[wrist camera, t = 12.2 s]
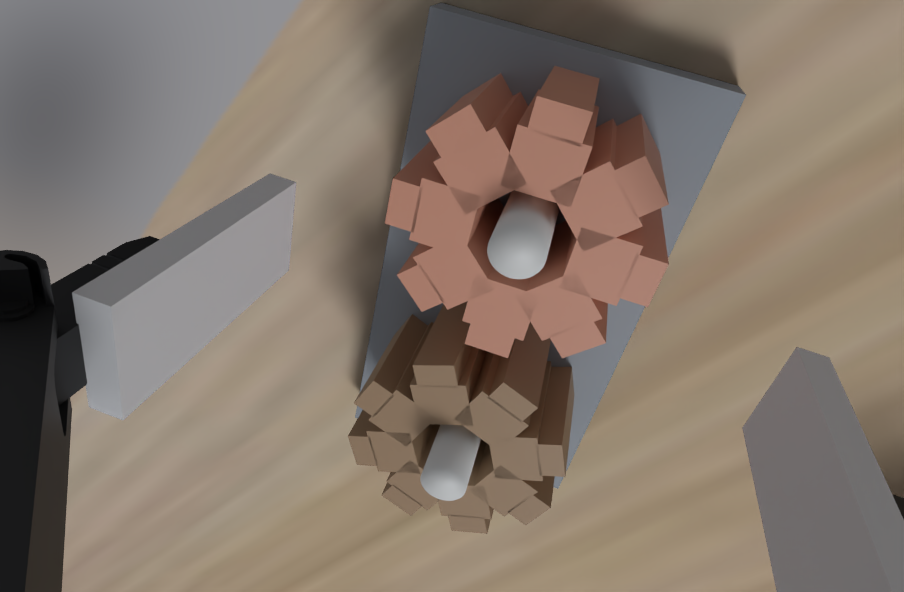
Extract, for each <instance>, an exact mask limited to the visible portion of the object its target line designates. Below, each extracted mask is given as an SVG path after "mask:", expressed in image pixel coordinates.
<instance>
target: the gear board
mask: <svg viewBox="0 0 904 592" xmlns="http://www.w3.org/2000/svg"><path fill="white" fill-rule="evenodd" d="M554 66H558V67H561V68H565V69H568V70H572V71H575V72H579V73H582V74H586V75H589V76H593V77H597V78H600V79H599V84H598V90H597V95H596V100H595V106H598V107H599V110H598V116H597V123H596V127H598V126H600V125H601V124H603V123H605V122H607V121H609V120H611V119H614V121H615V123H616V125H617V126H618V125H620V124H622V123H624V122H626V121H628V120H629V119H631V118H633V117H635V116H637V115H639V114H642V116H643V118H644V120H645V122H646V124H647V127H648V129H649V131H650V133H651V135H652V137H653V139H654V141H655V144H656V146H657V148H658V150H659V152H660V155H661V161H662V167H663V173H664V179H665V185H666V190H667V196H668V202H669V205H667V206H664V207H662V208H661V211H662V218H663V226H664V233H665V240H666V247H667V255H668V257H669V255H670V253H671V251H672V249H673V247H674V245H675V243H676V241H677V239H678V236H679V234H680V232H681V230H682V228H683V226H684V224H685V222H686V220H687V218H688V216H689V213H690V211H691V209H692V207H693V205H694V203H695V201H696V199H697V197H698V195H699V192H700V190H701V188H702V186H703V184H704V182H705V180H706V178H707V176H708V174H709V172H710V169H711V167H712V165H713V163H714V161H715V159H716V157H717V155H718V153H719V151H720V149H721V146H722V144H723V142H724V140H725V138H726V136H727V134H728V132H729V130H730V128H731V125H732V123H733V121H734V119H735V117H736V115H737V113H738V111H739V109H740V107H741V105H742V102H743V100H744V98H745V96H746V94H745V93H744V92H743V91H742V89H741V88H740V87H739V86H737V85H733V84H730V83H726V82H723V81H719V80H716V79H712V78H708V77H705V76H701V75H698V74H694V73H691V72H687V71H683V70H680V69H676V68H673V67H669V66H666V65H662V64H658V63H655V62H651V61H648V60H644V59H641V58H637V57H633V56H630V55H626V54H623V53H619V52H616V51H612V50H608V49H605V48H601V47H598V46H594V45H591V44H587V43H583V42H580V41H576V40H573V39H569V38H566V37H562V36H558V35H555V34H551V33H548V32H544V31H541V30H537V29H533V28H530V27H526V26H523V25H519V24H516V23H512V22H508V21H505V20H501V19H498V18H494V17H491V16H487V15H483V14H480V13H476V12H473V11H469V10H466V9H462V8H458V7H455V6H451V5H448V4H444V3H438V4H435V5H432V6H430V9H429V15H428V20H427V26H426V31H425V36H424V42H423V47H422V53H421V58H420V64H419V69H418V75H417V80H416V86H415V91H414V97H413V102H412V108H411V113H410V119H409V124H408V130H407V135H406V141H405V146H404V152H403V157H402V163H401V168H400V171H401V170H402V169H403V168H404V167H405V166H406V165H407V164H408V163H409V162H410V161H411V160H412V159H413V158H414V157H415V156H416V155H417V154H418V153H419V152H420V151H421V150H422V149H423V148H424V147H425V146H426V145H427V144H428V143H429V142H430V141H431V140H430V138H429V136H428V135H427V133H426V130H427V129H428V128H429V127H430V126H431V125H432V124H434V123H435V122H436V121H437V120H438V119H439V118H440V117H441V116H442V115H443V114H444V113H445V112H446V111H447V110H449V109H450V108H451V107H452V106H453V105H454V104H455V103H456V102H457V101H458V100H459V99H460V98H461V97H463V96H464V95H465V94H467V93H469V92H470V91H472V90H474V89H475V88H477V87H479V86H480V85H482V84H483V83H485V82H487V81H488V80H490V79H492V78H493V77H495V76H497V75H498V74H500V73H501V74H502V76H503V78H504V80H505V82H506V83H507V85H508V87H509V89H510V91H511V93H512V95H513V96H514V95H515V94H517V93H519V92H521V93H522V95H523V97H524V99H525V101H526V103H527V105H528V106H529V104H530V103H531V101H532V99H533V98H534V96H535V94H536V93H537V91H538V89H539V90H541V88H542V86H543V85H544V83H545V81H546V79H547V78H548V76H549V74H550V73H551V71H552V69H553V67H554ZM499 200H500V201H501V203H502V205H503V206H504V209H503V212H502V214H501V216H500V218H499V220H498V222H497V225H496V227H495V229H494V231H493V233H492V236H491V238H490V240H489V243H488V247H487V254H488V258H489V261H490V263H491V264H492V266H493V267H494V268H495V269H496V270H497V271H498V272H499V273H500V274H502V275H504V276H506V277H508V278H512V279H526V278H530V277H532V276H534V275H536V274H537V273H538V272H540V271H541V269H542V268H543V267H544V265H545V263H546V260H547V256H548V252H549V248H550V244H551V240H552V236H553V232H554V228H555V225H557V224H559V223H562V222H564V221H566V219H565V217H564V216H563V214H562V212H561V210H560V208H559V206H558V205H557V203H555V202H551V201H548V200H545V199H542V198H538V197H535V196H532V195H528V194H525V193H522V192H519V191H515V190H513V191H511V192H509V193H507V194H505V195H503V196H501V197H499ZM410 233H411V232H410V231H407V230H404V229H401V228H397V227H394V226H391V225H390V229H389V234H388V240H387V245H386V251H385V256H384V262H383V267H382V273H381V278H380V284H379V289H378V295H377V300H376V306H375V311H374V317H373V322H372V328H371V333H370V339H369V344H368V350H367V355H366V361H365V366H364V372H363V377H362V383H361V388H360V394H359V395H358V397H357V399H356V400H355V402H354V404H356V405H357V410H356V415H355V418H358V419H357V421H356V423H355V424H354V426H353V428H352V430H351V432H350V433H349V435H348V438H349V441H350V444H351V447H352V450H353V453H354V457H355V460H356V463H357V465H370V466H377V469H378V471H384V472H391V473H390V475H389V477H388V479H387V484H386V486H385V489H384V491H383V493H382V496H383V497H385V498H386V499H388V500H389V501H390V502H392V503H393V504H395V505H396V506H398V507H399V508H401V509H402V510H403V511H405V512H406V513H408V514H409V515H412V514H413V513H415V512H416V511H417V510H418V509H419V508H421V507H423V508H425V509H426V510H428V509H430V508H431V507H432V506H433V505H434V504H436V503H437V502H438V503H439V507H440V511H441V515H443V516H448V518H449V522H450V526H451V530H452V531H463V532H474V533H486V534H487V532H488V528H489V524H490V519H491V518H492V514H493V509H495V510H496V511H497V512H499V513H500V514H502V515H503V516H506V515H507V514H508V513H509V514H511V515H512V516H513V517H515V518H516V519H518V520H519V521H520V522H522V523H523V524H525V525H527V524H528V523H530V522H531V521H532V520H534V519H535V518H537V517H538V516H540V515H541V514H542V513H544V512H545V511H547V510H548V509H550V508H551V501H552V493H553V487H555V488H557V489H558V488H559V486H560V484H561V481H562V479H563V477H565V476H566V471H567V469H568V467H569V465H570V463H571V460H572V458H573V456H574V454H575V452H576V450H577V448H578V446H579V444H580V442H581V440H582V437H583V435H584V433H585V431H586V429H587V427H588V425H589V423H590V421H591V419H592V417H593V414H594V412H595V410H596V408H597V406H598V404H599V402H600V400H601V398H602V396H603V393H604V391H605V389H606V387H607V385H608V383H609V381H610V379H611V377H612V375H613V373H614V370H615V368H616V366H617V364H618V362H619V360H620V358H621V356H622V354H623V352H624V350H625V347H626V345H627V343H628V341H629V339H630V337H631V335H632V333H633V331H634V329H635V326H636V324H637V322H638V320H639V318H640V316H641V314H642V312H643V310H644V308H645V306H643V305H639V304H636V303H633V302H630V301H627V300H624V299H621V298H620V300H619V302H618V304H617V306H615V305H612V304H609V303H608V313H607V334H606V343H605V344H602V345H599V346H596V347H594V348H591V349H588V350H585V351H582V352H579V353H576V354H573V355H571V356H568V357H565V358H562V357H561V355H560V354H559V352H558V350H557V349H556V347H555V345H554V344H553V342H552V341H551V339H550V338H548V339H546V340H543V341H542V340H541V338H540V337H539V335H538V333H537V332H536V330H535V328H534V327H533V325H532V324H531V322H530V323H529V326H528V329H527V332H526V334H525V337H524V340H523V341H522V340H519V339H516V338H515V339H514V342H513V345H512V348H511V351H510V353H509V356H508V358H506V357H503V356H500V355H497V354H494V353H491V352H488V351H485V350H482V349H479V348H476V347H473V346H470V345H467V344H465V340H466V337H467V334H468V330H469V327H470V323H467V322H464V321H462V320H463V316H464V313H465V309H466V306H467V302H468V301H467V302H464V303H462V304H460V305H457V306H455V307H453V308H450V309H448V310H447V308H446V307H445V305H444V304H443V303H441V304H439V305H437V306H434V307H432V308H430V309H427V310H425V311H423V312H421V310H420V309H419V307H418V306H417V304H416V303H415V301H414V300H413V298H412V297H411V295H410V294H409V292H408V291H407V289H406V288H405V286H404V285H403V283H402V282H401V280H400V279H399V278H398V276H397V274H398V272H399V271H400V270H401V268H402V267H403V265H404V264H405V262H406V261H407V259H408V258H409V257H410V255H411V254H412V252H413V251H414V249H415V248H416V246H417V245H418V244H419V243H418V242H415V241H411V240H409V238H410Z"/></svg>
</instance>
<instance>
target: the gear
mask: <svg viewBox="0 0 904 592" xmlns="http://www.w3.org/2000/svg"><path fill="white" fill-rule="evenodd" d="M599 79H600V78H597V77H593V76H589V75H586V74H582V73H579V72H575V71H572V70H568V69H565V68H561V67H558V66H554V67H553V69H552V71H551V73H550V74H549V76H548V78H547V79H546V81H545V83H544V85H543V86H542V88H541V90H539V89H538V91H537V93H536V94H535V96H534V98H533V99H532V101H531V103H530V104H529V106H528V105H527V103H526V101H525V99H524V97H523V95H522V93H521V92H519V93H517V94H515V95H514V96H513V95H512V93H511V91H510V89H509V87H508V85H507V83H506V82H505V80H504V78H503V76H502V74H501V73H500V74H498V75H497V76H495V77H493V78H492V79H490V80H488V81H487V82H485V83H483V84H482V85H480V86H479V87H477V88H475V89H474V90H472V91H470V92H469V93H467V94H465V95H464V96H463V97H461V98H460V99H459V100H458V101H457V102H456V103H455V104H454V105H453V106H452V107H451V108H450V109H449V110H447V111H446V112H445V113H444V114H443V115H442V116H441V117H440V118H439V119H438V120H437V121H436V122H435V123H434V124H432V125H431V126H430V127H429V128H428V129H427V130H426V133H427V135H428V136H429V138H430V140H431V141H430V142H429V143H428V144H427V145H426V146H425V147H424V148H423V149H422V150H421V151H420V152H419V153H418V154H417V155H416V156H415V157H414V158H413V159H412V160H411V161H410V162H409V163H408V164H407V165H406V166H405V167H404V168H403V169H402V170H401V171H400V172H399V173H398V174H397V175H396V176H395V177H394V178H393V180H392V186H391V192H390V197H389V203H388V209H387V214H386V220H385V224H388V225H391V226H394V227H397V228H401V229H404V230H407V231H410V232H411V233H410V238H409V240H411V241H415V242H418V243H419V244H418V245H417V246H416V248H415V249H414V251H413V252H412V254H411V255H410V257H409V258H408V259H407V261H406V262H405V264H404V265H403V267H402V268H401V270H400V271H399V272H398V274H397V276H398V278H399V279H400V280H401V282H402V283H403V285H404V286H405V288H406V289H407V291H408V292H409V294H410V295H411V297H412V298H413V300H414V301H415V303H416V304H417V306H418V307H419V309H420V310H421V312H423V311H425V310H427V309H430V308H432V307H434V306H437V305H439V304H441V303H443V304H444V305H445V307H446V308H447V310H448V309H450V308H453V307H455V306H457V305H460V304H462V303H464V302H467V301H468V302H467V306H466V309H465V313H464V316H463V320H462V321H464V322H467V323H470V327H469V330H468V334H467V337H466V340H465V344H467V345H470V346H473V347H476V348H479V349H482V350H485V351H488V352H491V353H494V354H497V355H500V356H503V357H506V358H508V356H509V353H510V351H511V348H512V345H513V342H514V339H515V338H516V339H519V340H522V341H523V340H524V337H525V334H526V332H527V329H528V326H529V323H530V322H531V324H532V325H533V327H534V328H535V330H536V332H537V333H538V335H539V337H540V338H541V340H542V341H543V340H546V339H548V338H550V339H551V341H552V342H553V344H554V345H555V347H556V349H557V350H558V352H559V354H560V355H561V357H562V358H565V357H568V356H571V355H573V354H576V353H579V352H582V351H585V350H588V349H591V348H594V347H596V346H599V345H602V344H605V343H606V334H607V313H608V303H609V304H612V305H615V306H617V304H618V302H619V300H620V298H621V299H624V300H627V301H630V302H633V303H636V304H639V305H643V306H646V307H648V306H649V304H650V302H651V300H652V298H653V296H654V294H655V292H656V290H657V288H658V285H659V283H660V281H661V279H662V277H663V275H664V273H665V271H666V269H667V267H668V265H669V262H668V255H667V247H666V240H665V233H664V226H663V218H662V211H661V208H662V207H664V206H667V205H669V202H668V196H667V190H666V185H665V179H664V173H663V167H662V161H661V155H660V152H659V150H658V148H657V146H656V144H655V141H654V139H653V137H652V135H651V133H650V131H649V129H648V127H647V124H646V122H645V120H644V118H643V116H642V114H639V115H637V116H635V117H633V118H631V119H629V120H628V121H626V122H624V123H622V124H620V125H618V126H617V125H616V123H615V121H614V119H611V120H609V121H607V122H605V123H603V124H601V125H600V126H598V127H596V123H597V116H598V110H599V107H598V106H595V100H596V95H597V90H598V84H599ZM513 190H515V191H519V192H522V193H525V194H528V195H532V196H535V197H538V198H542V199H545V200H548V201H551V202H555V203H557V205H558V206H559V208H560V210H561V212H562V214H563V216H564V217H565V219H566V221H564V222H562V223H559V224H557V225H555V228H554V232H553V236H552V240H551V244H550V248H549V252H548V256H547V260H546V263H545V265H544V267H543V268H542V269H541V271H540V272H538V273H537V274H536V275H534V276H532V277H530V278H526V279H512V278H508V277H506V276H504V275H502V274H500V273H499V272H498V271H497V270H496V269H495V268H494V267H493V266H492V264H491V263H490V261H489V258H488V254H487V247H488V243H489V240H490V238H491V236H492V233H493V231H494V229H495V227H496V225H497V222H498V220H499V218H500V216H501V214H502V212H503V209H504V206H503V205H502V203H501V201H500V200H499V197H501V196H503V195H505V194H507V193H509V192H511V191H513Z"/></svg>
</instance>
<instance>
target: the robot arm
mask: <svg viewBox="0 0 904 592" xmlns="http://www.w3.org/2000/svg"><path fill="white" fill-rule="evenodd" d="M295 192H296V182H294V181H291V180H288V179H285V178H282V177H279V176H276V175H273V174H268V175H267V176H265V177H263V178H262V179H260V180H258V181H257V182H255V183H253V184H252V185H250V186H248V187H247V188H245V189H243V190H242V191H240V192H238V193H237V194H235V195H233V196H232V197H230V198H228V199H227V200H225V201H223V202H222V203H220V204H218V205H217V206H215V207H213V208H212V209H210V210H208V211H207V212H205V213H203V214H202V215H200V216H198V217H197V218H195V219H193V220H192V221H190V222H188V223H187V224H185V225H183V226H182V227H180V228H178V229H177V230H175V231H173V232H172V233H170V234H168V235H167V236H165V237H163V238H162V239H160V240H159V239H157V238H154V237H151V236H149V237H145V238H141V239H137V240H133V241H130V242H126V243H124V244H122V245H120V246H119V247H117V248H115V249H113V250H112V251H110V252H108V253H107V255H106V256H105V255H103V256H101V257H99V258H98V259H96V260H94V261H92V264H87V265H85V266H83V267H82V268H80V269H78V270H76V271H75V272H73V273H71V274H69V275H68V276H66V277H64V278H63V279H61V280H59V281H57V282H55V283H53V284H52V285H51V283H50V277H49V272H48V267H47V264H46V261H45V260H44V259H42V258H40V257H39V256H38V255H35V254H31V253H28V252H24V251H12V250H3V251H0V592H61V591H62V574H63V556H64V539H65V521H66V504H67V486H68V469H69V451H70V433H71V416H72V407H71V401H70V397H71V396H72V395H74V394H75V393H76V392H77V391H79V390H80V389H81V388H83V387H84V386H85V385H86V391H87V397H88V404H89V407H90V408H93V409H95V410H98V411H100V412H103V413H105V414H108V415H111V416H113V417H116V418H118V419H121V420H124V419H125V418H126V417H127V416H129V415H130V414H131V413H132V412H133V411H134V410H135V409H136V408H137V407H138V406H140V405H141V404H142V403H143V402H144V401H145V400H146V399H147V398H148V397H149V396H151V395H152V394H153V393H154V392H155V391H156V390H157V389H158V388H159V387H161V386H162V385H163V384H164V383H165V382H166V381H167V380H168V379H169V378H170V377H172V376H173V375H174V374H175V373H176V372H177V371H178V370H179V369H180V368H181V367H183V366H184V365H185V364H186V363H187V362H188V361H189V360H190V359H191V358H193V357H194V356H195V355H196V354H197V353H198V352H199V351H200V350H201V349H202V348H204V347H205V346H206V345H207V344H208V343H209V342H210V341H211V340H212V339H213V338H215V337H216V336H217V335H218V334H219V333H220V332H221V331H222V330H223V329H225V328H226V327H227V326H228V325H229V324H230V323H231V322H232V321H233V320H234V319H236V318H237V317H238V316H239V315H240V314H241V313H242V312H243V311H244V310H245V309H247V308H248V307H249V306H250V305H251V304H252V303H253V302H254V301H255V300H257V299H258V298H259V297H260V296H261V295H262V294H263V293H264V292H265V291H266V290H268V289H269V288H270V287H271V286H272V285H273V284H274V283H275V282H276V281H277V280H279V279H280V278H281V277H282V276H283V275H284V274H285V273H286V272H287V271H289V263H290V251H291V239H292V227H293V215H294V204H295ZM743 433H744V437H745V442H746V447H747V452H748V456H749V461H750V466H751V471H752V475H753V480H754V485H755V490H756V495H757V499H758V504H759V509H760V514H761V518H762V523H763V528H764V533H765V537H766V542H767V547H768V552H769V556H770V561H771V566H772V571H773V575H774V580H775V585H776V590H777V592H904V498H901V497H898V496H896V495H893V494H892V493H891V491H890V489H889V486H888V484H887V482H886V480H885V478H884V476H883V473H882V471H881V469H880V467H879V465H878V462H877V460H876V458H875V456H874V454H873V452H872V449H871V447H870V445H869V443H868V441H867V439H866V436H865V434H864V432H863V430H862V428H861V425H860V423H859V421H858V419H857V417H856V415H855V412H854V410H853V408H852V406H851V404H850V402H849V399H848V397H847V395H846V393H845V391H844V388H843V386H842V384H841V382H840V380H839V378H838V375H837V373H836V371H835V369H834V367H833V364H832V362H831V360H830V358H829V357H826V356H823V355H820V354H817V353H814V352H811V351H808V350H805V349H802V348H799V347H796V349H795V350H794V352H793V353H792V355H791V356H790V358H789V359H788V361H787V362H786V364H785V365H784V367H783V368H782V370H781V371H780V373H779V374H778V376H777V377H776V379H775V380H774V382H773V383H772V385H771V386H770V388H769V389H768V390H767V392H766V393H765V395H764V396H763V398H762V399H761V401H760V402H759V404H758V405H757V407H756V408H755V410H754V411H753V413H752V414H751V416H750V417H749V419H748V420H747V422H746V423H745V425H744V426H743Z"/></svg>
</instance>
